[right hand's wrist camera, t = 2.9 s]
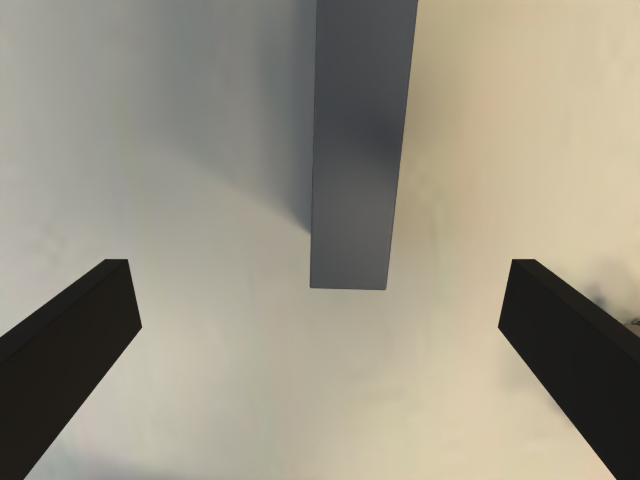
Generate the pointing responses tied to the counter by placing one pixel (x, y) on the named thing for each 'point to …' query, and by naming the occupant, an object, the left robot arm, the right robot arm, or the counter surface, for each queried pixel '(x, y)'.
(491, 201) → the counter surface
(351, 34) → the beam
